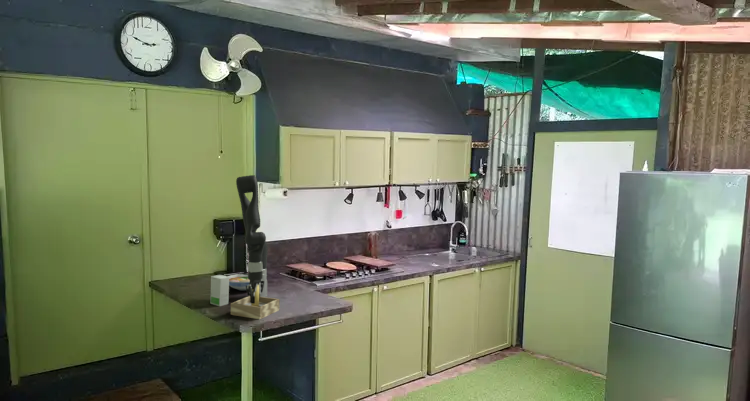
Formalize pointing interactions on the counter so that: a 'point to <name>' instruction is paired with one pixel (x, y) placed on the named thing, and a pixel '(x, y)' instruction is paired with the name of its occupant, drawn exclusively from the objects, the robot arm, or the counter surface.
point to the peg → (256, 297)
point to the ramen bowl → (239, 281)
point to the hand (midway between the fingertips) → (255, 301)
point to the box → (255, 307)
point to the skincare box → (219, 290)
